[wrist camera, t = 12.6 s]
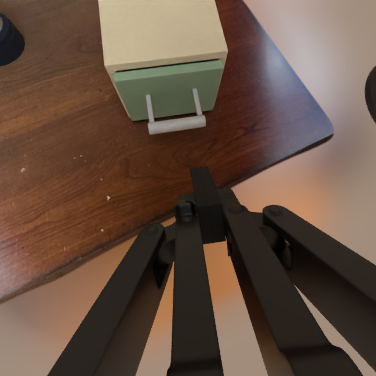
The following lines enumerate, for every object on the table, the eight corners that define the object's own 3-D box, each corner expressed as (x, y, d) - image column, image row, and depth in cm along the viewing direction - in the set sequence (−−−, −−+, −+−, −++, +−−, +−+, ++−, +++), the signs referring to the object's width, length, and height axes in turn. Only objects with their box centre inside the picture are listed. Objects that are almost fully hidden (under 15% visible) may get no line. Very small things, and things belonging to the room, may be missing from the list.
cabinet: (214, 106, 31) (228, 50, 22) (129, 118, 30) (104, 65, 21) (196, 30, 34) (202, -47, 25) (119, 38, 34) (94, -38, 24)
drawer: (220, 140, 29) (233, 107, 21) (136, 153, 28) (118, 123, 20) (196, 36, 33) (200, -24, 25) (122, 44, 32) (103, -15, 24)
